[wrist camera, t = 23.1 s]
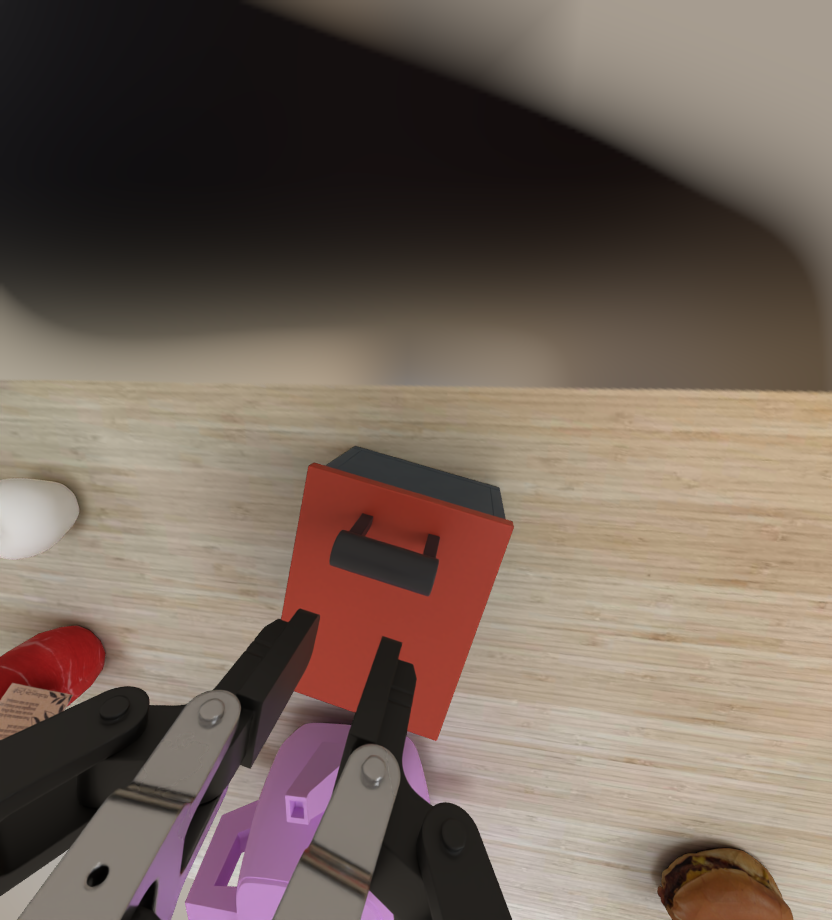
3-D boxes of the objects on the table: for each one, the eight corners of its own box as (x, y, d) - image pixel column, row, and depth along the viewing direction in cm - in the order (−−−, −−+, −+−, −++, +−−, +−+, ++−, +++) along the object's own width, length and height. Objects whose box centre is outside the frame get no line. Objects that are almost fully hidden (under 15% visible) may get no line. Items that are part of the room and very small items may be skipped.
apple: (46, 538, 39) (-62, 582, 31) (21, 470, 37) (-98, 498, 29) (104, 535, 37) (8, 579, 30) (81, 465, 36) (-26, 492, 28)
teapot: (349, 657, 36) (265, 852, 22) (494, 776, 37) (505, 1040, 23) (246, 759, 42) (123, 970, 27) (374, 861, 42) (321, 1119, 28)
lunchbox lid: (313, 461, 23) (265, 492, 18) (513, 521, 22) (524, 571, 17) (274, 674, 27) (227, 747, 22) (437, 731, 26) (428, 821, 21)
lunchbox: (355, 445, 31) (313, 472, 23) (499, 487, 30) (508, 530, 22) (320, 604, 35) (275, 673, 27) (446, 646, 34) (437, 730, 26)
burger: (792, 870, 34) (839, 945, 30) (730, 926, 37) (765, 1004, 33) (688, 820, 35) (718, 888, 30) (633, 880, 38) (654, 950, 33)
